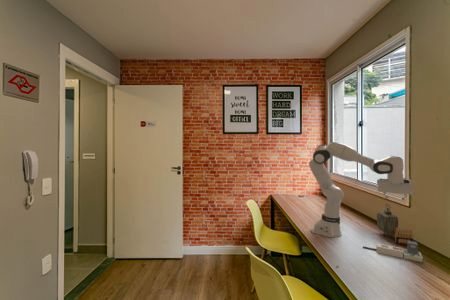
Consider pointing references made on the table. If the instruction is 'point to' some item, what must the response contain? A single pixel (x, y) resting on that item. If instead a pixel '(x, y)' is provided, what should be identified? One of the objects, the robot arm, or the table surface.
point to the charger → (412, 248)
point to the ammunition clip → (403, 236)
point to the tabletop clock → (387, 221)
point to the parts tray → (410, 257)
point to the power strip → (388, 250)
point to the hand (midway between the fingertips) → (394, 199)
